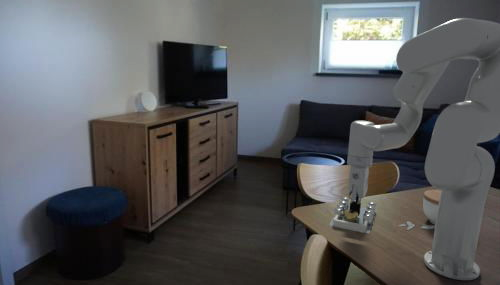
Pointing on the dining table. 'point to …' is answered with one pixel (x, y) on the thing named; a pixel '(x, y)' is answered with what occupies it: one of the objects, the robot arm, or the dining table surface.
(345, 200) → the spacers
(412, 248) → the dining table surface
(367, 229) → the board
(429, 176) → the robot arm
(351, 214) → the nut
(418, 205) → the dining table surface
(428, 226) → the pliers
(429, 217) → the lidded bowl
